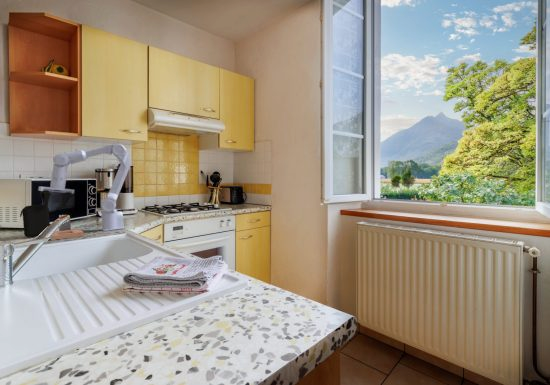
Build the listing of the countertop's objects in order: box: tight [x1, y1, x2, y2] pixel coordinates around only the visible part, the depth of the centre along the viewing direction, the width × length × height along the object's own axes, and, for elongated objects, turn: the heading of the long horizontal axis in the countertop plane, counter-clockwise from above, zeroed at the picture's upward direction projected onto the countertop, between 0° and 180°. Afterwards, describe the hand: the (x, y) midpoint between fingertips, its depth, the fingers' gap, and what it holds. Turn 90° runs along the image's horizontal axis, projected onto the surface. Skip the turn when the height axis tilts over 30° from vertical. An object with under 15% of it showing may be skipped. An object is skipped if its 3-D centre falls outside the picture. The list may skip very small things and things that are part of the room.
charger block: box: [58, 219, 72, 231], centre depth 145 cm, size 4×5×7 cm
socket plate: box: [51, 228, 85, 240], centre depth 135 cm, size 12×13×2 cm
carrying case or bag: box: [19, 204, 51, 239], centre depth 137 cm, size 11×3×15 cm, turn 142°
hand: (54, 207), depth 141 cm, fingers open, 7 cm apart
